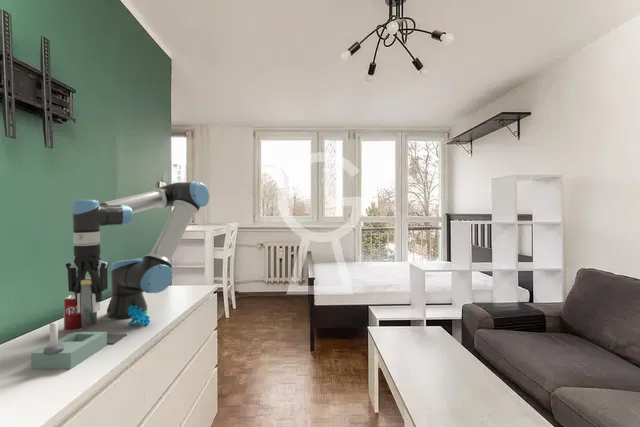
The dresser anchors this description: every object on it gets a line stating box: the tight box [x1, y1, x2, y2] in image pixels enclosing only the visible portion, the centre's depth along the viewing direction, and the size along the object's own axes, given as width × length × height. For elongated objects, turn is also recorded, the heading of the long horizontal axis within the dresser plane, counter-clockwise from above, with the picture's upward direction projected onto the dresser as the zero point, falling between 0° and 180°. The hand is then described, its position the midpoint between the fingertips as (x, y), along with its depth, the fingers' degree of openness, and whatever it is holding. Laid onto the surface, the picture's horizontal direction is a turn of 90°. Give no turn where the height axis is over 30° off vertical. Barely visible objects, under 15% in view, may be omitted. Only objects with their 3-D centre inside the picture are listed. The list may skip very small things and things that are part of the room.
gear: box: [127, 305, 151, 326], centre depth 128 cm, size 11×6×10 cm
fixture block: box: [30, 321, 108, 370], centre depth 100 cm, size 17×11×12 cm, turn 1°
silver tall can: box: [80, 277, 98, 328], centre depth 115 cm, size 4×4×16 cm
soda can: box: [63, 294, 87, 332], centre depth 124 cm, size 7×7×12 cm
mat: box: [107, 333, 128, 345], centre depth 113 cm, size 8×8×1 cm
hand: (89, 311), depth 115 cm, fingers closed on silver tall can, 4 cm apart
